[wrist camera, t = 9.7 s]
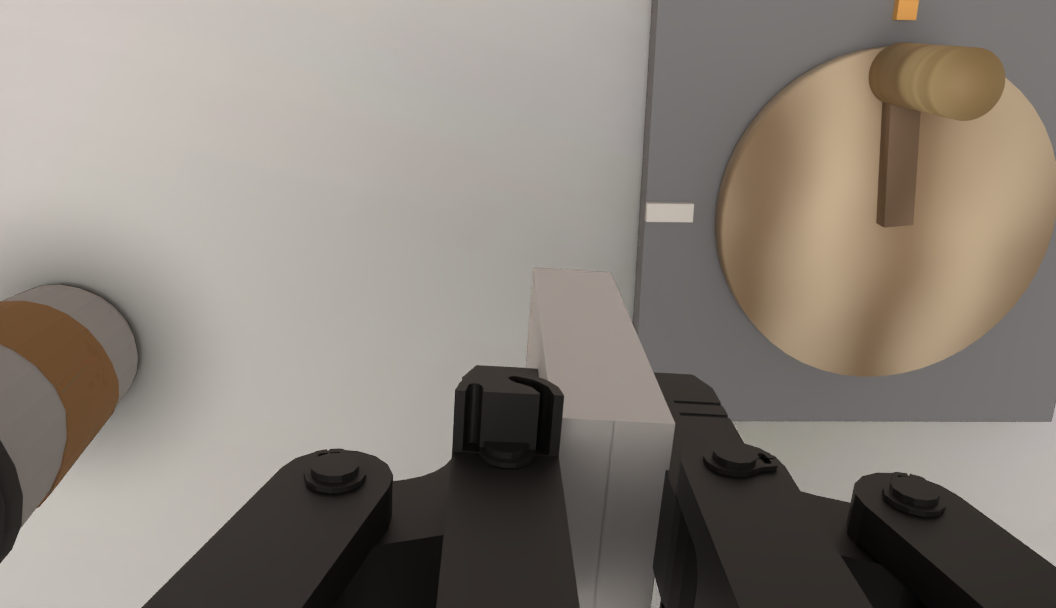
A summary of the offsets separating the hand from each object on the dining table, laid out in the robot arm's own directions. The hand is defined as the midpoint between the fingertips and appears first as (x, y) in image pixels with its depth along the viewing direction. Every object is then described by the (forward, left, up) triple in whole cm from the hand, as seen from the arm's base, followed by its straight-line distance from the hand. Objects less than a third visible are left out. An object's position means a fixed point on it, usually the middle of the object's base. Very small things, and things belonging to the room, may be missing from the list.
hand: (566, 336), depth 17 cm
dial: (-2, -15, -21) cm, 26 cm away
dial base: (-2, -15, -22) cm, 27 cm away
